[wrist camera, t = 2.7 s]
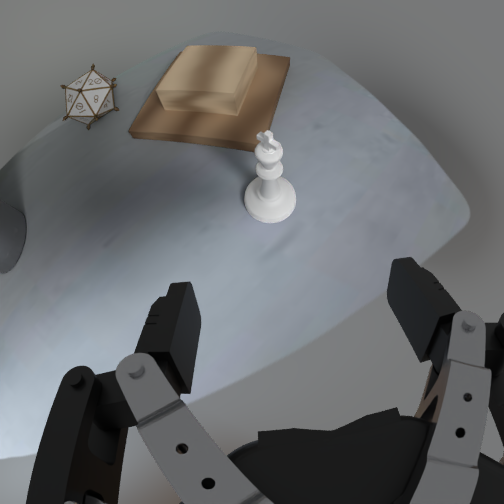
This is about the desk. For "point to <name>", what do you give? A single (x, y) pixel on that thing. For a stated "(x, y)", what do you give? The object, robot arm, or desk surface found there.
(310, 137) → the desk surface
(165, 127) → the walnut base
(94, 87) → the game die
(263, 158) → the chess piece
